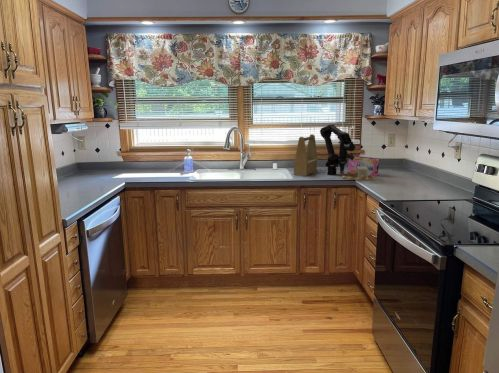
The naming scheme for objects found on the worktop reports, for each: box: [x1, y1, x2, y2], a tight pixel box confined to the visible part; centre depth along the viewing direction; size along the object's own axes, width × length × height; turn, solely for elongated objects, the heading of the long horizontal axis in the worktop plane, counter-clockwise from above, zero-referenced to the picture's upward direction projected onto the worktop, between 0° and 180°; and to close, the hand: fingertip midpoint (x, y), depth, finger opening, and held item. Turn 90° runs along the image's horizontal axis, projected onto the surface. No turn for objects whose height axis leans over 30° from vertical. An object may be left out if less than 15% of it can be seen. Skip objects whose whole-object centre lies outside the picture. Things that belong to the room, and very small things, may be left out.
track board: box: [341, 175, 374, 181], centre depth 282 cm, size 22×12×2 cm, turn 77°
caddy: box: [293, 134, 318, 177], centre depth 300 cm, size 29×11×30 cm, turn 154°
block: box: [350, 169, 356, 174], centre depth 282 cm, size 4×4×4 cm
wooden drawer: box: [339, 168, 358, 177], centre depth 283 cm, size 13×8×8 cm, turn 78°
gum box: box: [347, 155, 381, 177], centre depth 298 cm, size 24×8×14 cm, turn 45°
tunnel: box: [357, 166, 368, 178], centre depth 281 cm, size 7×12×7 cm, turn 167°
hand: (341, 170), depth 284 cm, fingers open, 9 cm apart
